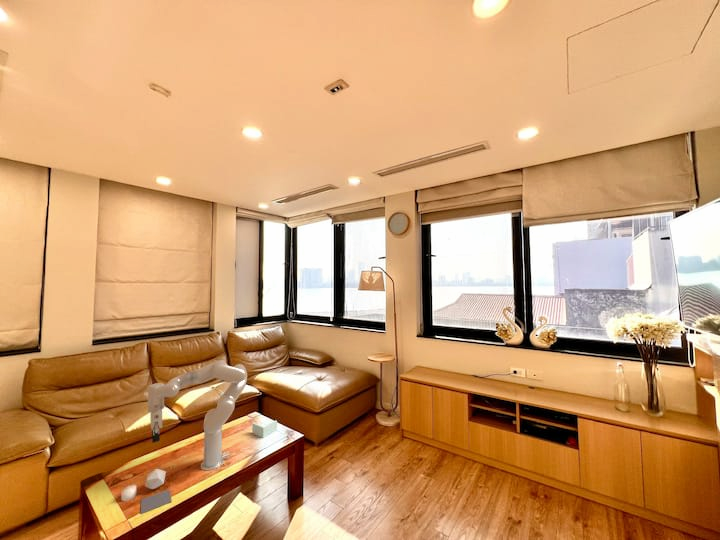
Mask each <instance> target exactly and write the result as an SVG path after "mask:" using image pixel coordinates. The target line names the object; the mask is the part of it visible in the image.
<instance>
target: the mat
mask: <svg viewBox="0 0 720 540" xmlns="http://www.w3.org/2000/svg"><path fill="white" fill-rule="evenodd" d="M171 503H172V494H171V489H170V488H168V489H166V490H163V491H161V492H157V493H154V494H152V495H150V496H147V497H145V498H141V499H140V515H143V514H146V513H147V512H151V511H152V510H155V509H157V508H160V507H162V506H165V505H168V504H171Z"/></svg>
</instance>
